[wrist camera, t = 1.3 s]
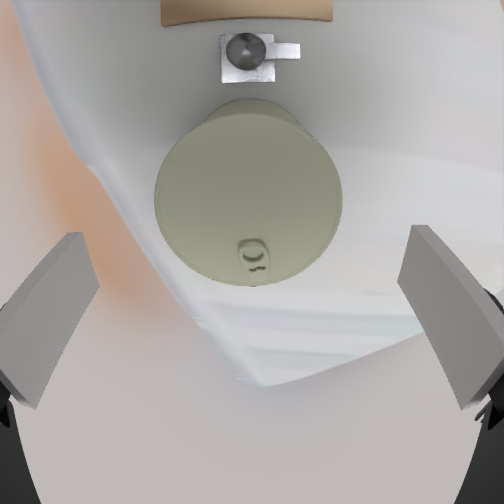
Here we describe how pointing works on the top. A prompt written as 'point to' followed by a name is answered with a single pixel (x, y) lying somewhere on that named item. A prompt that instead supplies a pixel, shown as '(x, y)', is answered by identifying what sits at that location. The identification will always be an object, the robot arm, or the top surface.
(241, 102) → the can
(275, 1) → the tan flat square board
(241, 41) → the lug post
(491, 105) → the top surface
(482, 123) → the top surface
